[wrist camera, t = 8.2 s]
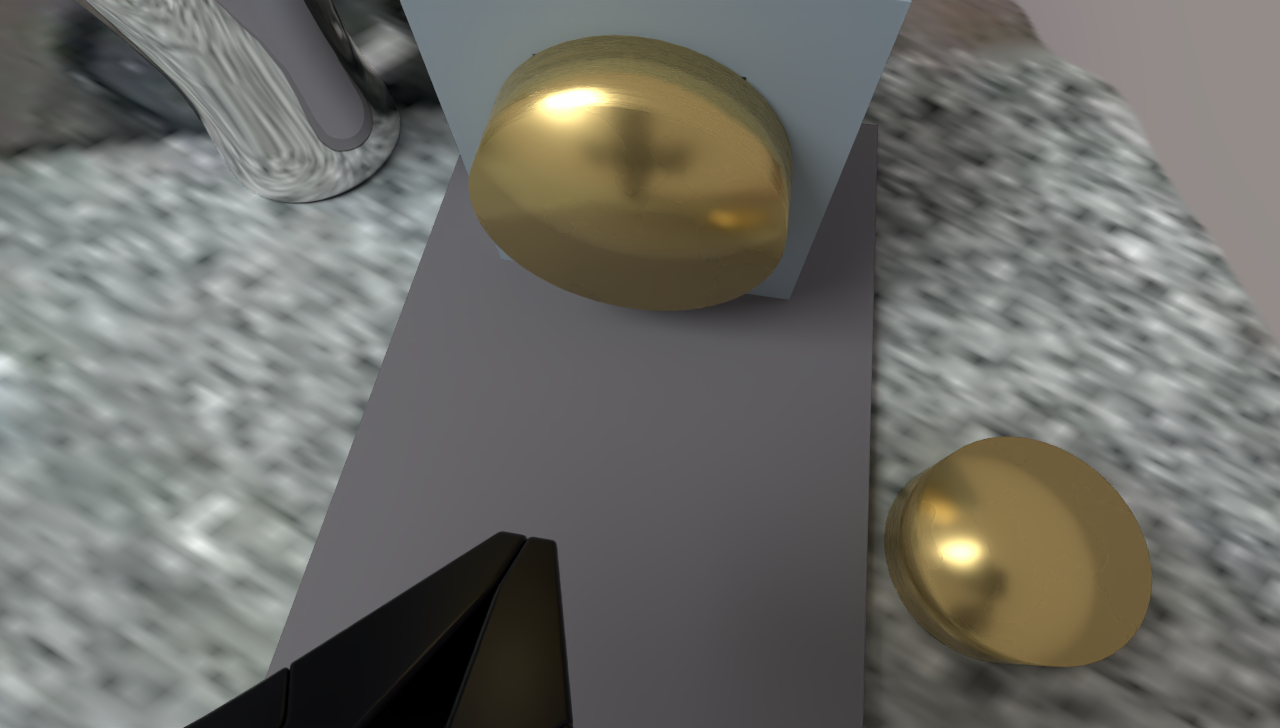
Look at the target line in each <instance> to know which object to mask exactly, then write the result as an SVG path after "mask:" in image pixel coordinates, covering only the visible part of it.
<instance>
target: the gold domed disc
mask: <svg viewBox="0 0 1280 728" xmlns="http://www.w3.org/2000/svg"><path fill="white" fill-rule="evenodd" d="M884 548H885V556H886V562H887V566H888V570H889V574H890V576H891V579H892V582H893V584H894V587H895V589H896V591H897V593H898V595H899V596H900V598H901V600H902V602H903V603H904V605H905V606H906V608H907V609H908V611H909V612H910V613H911V614H912V616H913V617H914V618H915V619H916V620H917V622H918V623H919V624H920V625H921V626H922V627H923V628H924V629H926V630H927V631H928V632H929V633H930V634H931V635H932V636H934V637H935V638H936V639H938V640H939V641H940V642H942V643H943V644H945V645H946V646H948V647H950V648H951V649H953V650H955V651H957V652H959V653H962V654H964V655H966V656H969V657H972V658H975V659H978V660H982V661H987V662H993V663H1005V664H1021V665H1037V666H1053V667H1073V666H1081V665H1087V664H1090V663H1094V662H1097V661H1100V660H1102V659H1104V658H1106V657H1108V656H1110V655H1112V654H1114V653H1115V652H1117V651H1118V650H1119V649H1121V648H1122V647H1123V646H1124V645H1125V644H1126V643H1127V642H1128V641H1129V640H1130V639H1131V638H1132V637H1133V636H1134V635H1135V633H1136V632H1137V630H1138V629H1139V627H1140V626H1141V624H1142V622H1143V619H1144V617H1145V615H1146V613H1147V609H1148V606H1149V602H1150V598H1151V588H1152V569H1151V563H1150V557H1149V552H1148V549H1147V545H1146V542H1145V539H1144V536H1143V534H1142V532H1141V529H1140V527H1139V525H1138V523H1137V521H1136V519H1135V517H1134V515H1133V514H1132V512H1131V510H1130V509H1129V507H1128V506H1127V504H1126V503H1125V501H1124V500H1123V499H1122V497H1121V496H1120V495H1119V494H1118V492H1117V491H1116V490H1115V489H1114V488H1113V487H1112V486H1111V484H1110V483H1109V482H1108V481H1106V480H1105V479H1104V478H1103V477H1102V476H1101V475H1100V474H1099V473H1098V472H1097V471H1095V470H1094V469H1093V468H1091V467H1090V466H1089V465H1088V464H1086V463H1085V462H1083V461H1082V460H1080V459H1079V458H1077V457H1075V456H1074V455H1072V454H1070V453H1068V452H1066V451H1064V450H1062V449H1060V448H1058V447H1055V446H1053V445H1050V444H1047V443H1045V442H1041V441H1037V440H1033V439H1028V438H1021V437H994V438H987V439H983V440H979V441H976V442H973V443H971V444H969V445H966V446H964V447H962V448H961V449H959V450H957V451H956V452H954V453H952V454H951V455H949V456H948V457H946V458H944V459H943V460H941V461H940V462H938V463H936V464H935V465H933V466H932V467H930V468H928V469H927V470H925V471H924V472H922V473H920V474H919V475H917V476H916V477H914V478H913V479H912V480H911V481H910V482H908V483H907V484H906V485H905V487H904V488H903V489H902V490H901V491H900V492H899V494H898V495H897V497H896V499H895V500H894V502H893V504H892V506H891V509H890V511H889V514H888V518H887V521H886V527H885V534H884Z"/></svg>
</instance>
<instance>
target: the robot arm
mask: <svg viewBox="0 0 1280 728" xmlns="http://www.w3.org/2000/svg"><path fill="white" fill-rule="evenodd" d="M184 728H574V727H573V714H572V703H571V692H570V681H569V670H568V659H567V648H566V637H565V626H564V615H563V604H562V593H561V582H560V571H559V560H558V549H557V543H556V542H555V541H554V540H551V539H545V538H539V537H530V538H527V537H526V536H525V535H522V534H517V533H511V532H506V531H501V532H498V533H496V534H494V535H493V536H491V537H490V538H488V539H486V540H485V541H483V542H482V543H480V544H478V545H477V546H475V547H474V548H472V549H471V550H469V551H467V552H466V553H464V554H463V555H461V556H459V557H458V558H456V559H455V560H453V561H452V562H450V563H448V564H447V565H445V566H444V567H442V568H440V569H439V570H437V571H436V572H434V573H433V574H431V575H429V576H428V577H426V578H425V579H423V580H422V581H420V582H418V583H417V584H415V585H414V586H412V587H410V588H409V589H407V590H406V591H404V592H403V593H401V594H399V595H398V596H396V597H395V598H393V599H391V600H390V601H388V602H387V603H385V604H384V605H382V606H380V607H379V608H377V609H376V610H374V611H372V612H371V613H369V614H368V615H366V616H365V617H363V618H361V619H360V620H358V621H357V622H355V623H354V624H352V625H350V626H349V627H347V628H346V629H344V630H342V631H341V632H339V633H338V634H336V635H335V636H333V637H331V638H330V639H328V640H327V641H325V642H323V643H322V644H320V645H319V646H317V647H316V648H314V649H312V650H311V651H309V652H308V653H306V654H304V655H303V656H301V657H300V658H298V659H297V660H295V661H293V662H292V663H291V664H290V667H289V669H288V668H287V667H284V668H282V669H280V670H279V671H277V672H276V673H274V674H272V675H271V676H269V677H268V678H266V679H265V680H263V681H261V682H260V683H258V684H257V685H255V686H253V687H252V688H250V689H248V690H247V691H245V692H243V693H242V694H240V695H238V696H237V697H235V698H234V699H232V700H230V701H229V702H227V703H225V704H224V705H222V706H220V707H219V708H217V709H215V710H214V711H212V712H210V713H209V714H207V715H205V716H204V717H202V718H200V719H198V720H196V721H195V722H193V723H191V724H189V725H187V726H186V727H184Z"/></svg>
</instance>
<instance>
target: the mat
mask: <svg viewBox="0 0 1280 728" xmlns="http://www.w3.org/2000/svg"><path fill="white" fill-rule="evenodd" d="M877 145H878V125H870V124H861V126H860V128H859V131H858V133H857V136H856V138H855V141H854V143H853V145H852V148H851V150H850V153H849V155H848V158H847V160H846V162H845V165H844V167H843V170H842V172H841V175H840V177H839V180H838V182H837V184H836V187H835V189H834V192H833V194H832V197H831V199H830V201H829V204H828V206H827V209H826V211H825V214H824V216H823V219H822V221H821V223H820V226H819V228H818V231H817V233H816V236H815V238H814V240H813V243H812V245H811V248H810V250H809V253H808V255H807V258H806V260H805V262H804V265H803V267H802V270H801V272H800V275H799V277H798V279H797V282H796V284H795V287H794V289H793V292H792V294H791V297H790V299H789V300H788V299H780V298H773V297H766V296H759V295H752V294H744V295H742V296H740V297H738V298H735V299H732V300H730V301H727V302H724V303H721V304H717V305H713V306H710V307H704V308H698V309H690V310H680V311H654V310H641V309H632V308H626V307H620V306H615V305H610V304H606V303H602V302H598V301H594V300H591V299H588V298H585V297H582V296H579V295H576V294H574V293H571V292H568V291H566V290H564V289H561V288H559V287H557V286H555V285H553V284H550V283H549V282H547V281H545V280H543V279H541V278H539V277H538V276H536V275H534V274H533V273H531V272H530V271H528V270H526V269H525V268H523V267H522V266H521V265H519V264H518V263H517V262H515V261H511V260H504V259H501V257H500V255H499V252H498V250H497V247H496V245H495V242H494V241H493V240H492V239H491V238H490V237H489V235H488V234H487V233H486V231H485V230H484V228H483V227H482V225H481V224H480V222H479V220H478V218H477V216H476V214H475V212H474V209H473V206H472V203H471V200H470V193H469V176H468V173H467V170H466V168H465V165H464V163H463V160H462V158H461V155H460V156H459V158H458V161H457V164H456V166H455V169H454V172H453V175H452V177H451V180H450V183H449V185H448V188H447V191H446V193H445V196H444V199H443V201H442V204H441V207H440V210H439V212H438V215H437V218H436V220H435V223H434V226H433V228H432V231H431V234H430V236H429V239H428V242H427V244H426V247H425V250H424V253H423V255H422V258H421V261H420V263H419V266H418V269H417V271H416V274H415V277H414V279H413V282H412V285H411V288H410V290H409V293H408V296H407V298H406V301H405V304H404V306H403V309H402V312H401V314H400V317H399V320H398V323H397V325H396V328H395V331H394V333H393V336H392V339H391V341H390V344H389V347H388V349H387V352H386V355H385V358H384V360H383V363H382V366H381V368H380V371H379V374H378V376H377V379H376V382H375V384H374V387H373V390H372V393H371V395H370V398H369V401H368V403H367V406H366V409H365V411H364V414H363V417H362V419H361V422H360V425H359V427H358V430H357V433H356V436H355V438H354V441H353V444H352V446H351V449H350V452H349V454H348V457H347V460H346V462H345V465H344V468H343V471H342V473H341V476H340V479H339V481H338V484H337V487H336V489H335V492H334V495H333V497H332V500H331V503H330V506H329V508H328V511H327V514H326V516H325V519H324V522H323V524H322V527H321V530H320V532H319V535H318V538H317V541H316V543H315V546H314V549H313V551H312V554H311V557H310V559H309V562H308V565H307V567H306V570H305V573H304V575H303V578H302V581H301V584H300V586H299V589H298V592H297V594H296V597H295V600H294V602H293V605H292V608H291V610H290V613H289V616H288V619H287V621H286V624H285V627H284V629H283V632H282V635H281V637H280V640H279V643H278V645H277V648H276V651H275V654H274V656H273V659H272V662H271V664H270V667H269V670H268V672H267V675H266V678H268V677H269V676H271V675H272V674H274V673H276V672H277V671H279V670H280V669H282V668H284V667H287V668H288V669H289V667H290V664H291V663H292V662H293V661H295V660H297V659H298V658H300V657H301V656H303V655H304V654H306V653H308V652H309V651H311V650H312V649H314V648H316V647H317V646H319V645H320V644H322V643H323V642H325V641H327V640H328V639H330V638H331V637H333V636H335V635H336V634H338V633H339V632H341V631H342V630H344V629H346V628H347V627H349V626H350V625H352V624H354V623H355V622H357V621H358V620H360V619H361V618H363V617H365V616H366V615H368V614H369V613H371V612H372V611H374V610H376V609H377V608H379V607H380V606H382V605H384V604H385V603H387V602H388V601H390V600H391V599H393V598H395V597H396V596H398V595H399V594H401V593H403V592H404V591H406V590H407V589H409V588H410V587H412V586H414V585H415V584H417V583H418V582H420V581H422V580H423V579H425V578H426V577H428V576H429V575H431V574H433V573H434V572H436V571H437V570H439V569H440V568H442V567H444V566H445V565H447V564H448V563H450V562H452V561H453V560H455V559H456V558H458V557H459V556H461V555H463V554H464V553H466V552H467V551H469V550H471V549H472V548H474V547H475V546H477V545H478V544H480V543H482V542H483V541H485V540H486V539H488V538H490V537H491V536H493V535H494V534H496V533H498V532H501V531H506V532H511V533H517V534H522V535H525V536H526V537H527V538H530V537H539V538H545V539H551V540H554V541H555V542H556V543H557V549H558V560H559V571H560V582H561V593H562V604H563V615H564V626H565V637H566V648H567V659H568V670H569V681H570V692H571V703H572V714H573V727H574V728H863V704H864V664H865V624H866V585H867V545H868V505H869V465H870V425H871V385H872V345H873V305H874V265H875V225H876V185H877ZM266 678H265V679H266Z"/></svg>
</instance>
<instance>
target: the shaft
mask: <svg viewBox="0 0 1280 728" xmlns="http://www.w3.org/2000/svg"><path fill="white" fill-rule="evenodd" d="M792 175H793V157H792V152H791V146H790V142H789V139H788V137H787V134H786V131H785V129H784V127H783V125H782V123H781V121H780V120H779V118H778V116H777V114H776V113H775V111H774V110H773V109H772V107H771V106H770V105H769V104H768V102H767V101H766V100H765V99H764V97H763V96H762V95H761V94H760V93H759V92H758V91H757V90H755V89H754V88H753V87H752V86H751V85H750V84H749V83H748V82H747V81H746V80H744V79H743V78H741V77H740V76H739V75H737V74H736V73H735V72H733V71H732V70H731V69H729V68H727V67H726V66H724V65H722V64H720V63H718V62H717V61H715V60H713V59H711V58H710V57H708V56H705V55H703V54H700V53H698V52H696V51H693V50H691V49H688V48H686V47H683V46H679V45H676V44H672V43H669V42H665V41H662V40H656V39H650V38H644V37H638V36H622V35H605V36H591V37H585V38H580V39H575V40H570V41H566V42H563V43H560V44H557V45H555V46H552V47H549V48H546V49H545V50H543V51H541V52H539V53H537V54H535V55H534V56H532V57H530V58H529V59H527V60H526V61H525V62H524V63H522V64H521V65H520V66H518V67H517V68H516V69H515V70H514V71H513V73H512V74H511V75H510V76H509V77H508V78H507V79H506V80H505V82H504V84H503V86H502V87H501V89H500V91H499V92H498V94H497V97H496V100H495V103H494V105H493V108H492V111H491V114H490V116H489V119H488V122H487V125H486V128H485V130H484V133H483V136H482V139H481V142H480V144H479V147H478V150H477V153H476V156H475V158H474V161H473V164H472V167H471V170H470V175H469V193H470V200H471V203H472V206H473V209H474V212H475V214H476V216H477V218H478V220H479V222H480V224H481V225H482V227H483V228H484V230H485V231H486V233H487V234H488V235H489V237H490V238H491V239H492V240H493V241H494V242H495V243H496V245H497V246H498V247H499V248H500V249H501V250H503V251H504V252H505V253H506V254H507V255H508V256H509V257H510V258H511V259H513V260H514V261H515V262H517V263H518V264H519V265H521V266H522V267H523V268H525V269H526V270H528V271H530V272H531V273H533V274H534V275H536V276H538V277H539V278H541V279H543V280H545V281H547V282H549V283H550V284H553V285H555V286H557V287H559V288H561V289H564V290H566V291H568V292H571V293H574V294H576V295H579V296H582V297H585V298H588V299H591V300H594V301H598V302H602V303H606V304H610V305H615V306H620V307H626V308H632V309H641V310H654V311H680V310H690V309H698V308H704V307H710V306H713V305H717V304H721V303H724V302H727V301H730V300H732V299H735V298H738V297H740V296H742V295H744V294H746V293H748V292H749V291H751V290H753V289H754V288H755V287H757V286H758V285H760V284H761V283H762V282H763V281H764V280H765V279H767V278H768V277H769V276H770V275H771V273H772V272H773V271H774V269H775V268H776V267H777V265H778V264H779V262H780V260H781V257H782V255H783V253H784V249H785V244H786V239H787V229H788V218H789V207H790V197H791V186H792Z"/></svg>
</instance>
